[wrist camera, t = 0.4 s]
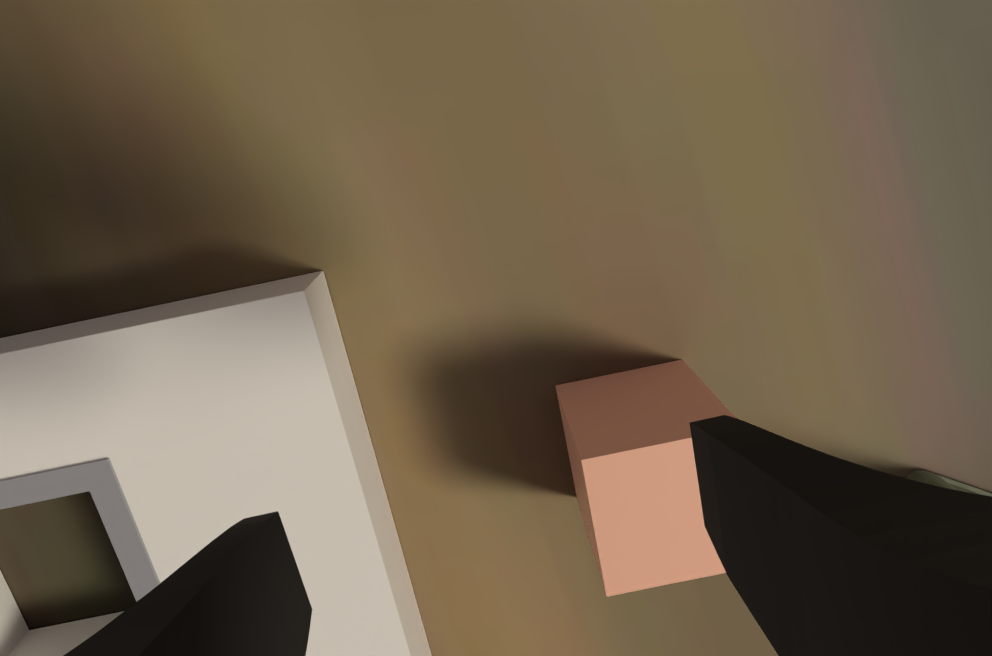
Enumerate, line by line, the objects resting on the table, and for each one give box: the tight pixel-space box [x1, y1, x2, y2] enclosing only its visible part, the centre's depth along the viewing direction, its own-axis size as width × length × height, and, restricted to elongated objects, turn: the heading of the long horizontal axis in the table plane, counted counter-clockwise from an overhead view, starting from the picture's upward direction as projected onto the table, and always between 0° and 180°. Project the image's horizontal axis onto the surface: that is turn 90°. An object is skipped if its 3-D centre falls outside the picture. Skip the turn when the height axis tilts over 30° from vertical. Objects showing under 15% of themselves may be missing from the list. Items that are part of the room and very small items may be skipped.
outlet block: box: [0, 271, 432, 656], centre depth 21 cm, size 14×20×3 cm
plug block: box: [556, 360, 735, 596], centre depth 20 cm, size 4×4×5 cm
